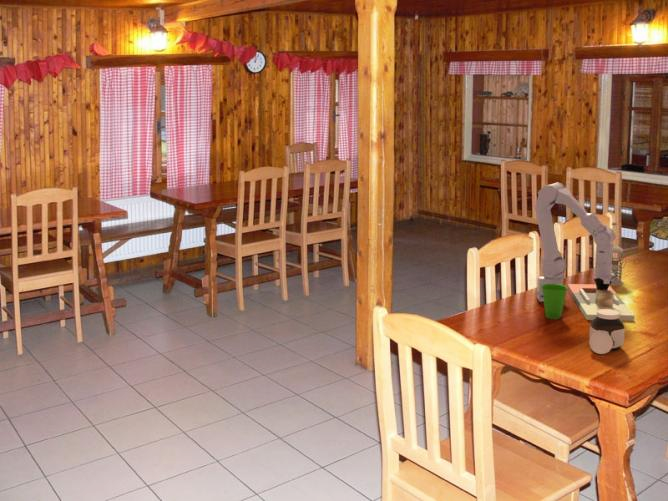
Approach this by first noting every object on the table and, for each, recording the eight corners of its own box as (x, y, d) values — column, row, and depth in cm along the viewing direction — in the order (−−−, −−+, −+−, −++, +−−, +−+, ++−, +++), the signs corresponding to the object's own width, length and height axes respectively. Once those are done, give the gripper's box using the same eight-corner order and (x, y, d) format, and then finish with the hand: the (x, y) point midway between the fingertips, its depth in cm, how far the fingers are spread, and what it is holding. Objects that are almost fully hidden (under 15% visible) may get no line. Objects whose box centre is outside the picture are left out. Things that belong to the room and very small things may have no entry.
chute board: (586, 320, 290) (587, 310, 290) (567, 288, 331) (567, 280, 330) (634, 321, 289) (634, 311, 288) (608, 289, 329) (609, 280, 329)
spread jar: (617, 343, 266) (619, 308, 264) (630, 355, 255) (633, 318, 253) (580, 344, 266) (582, 309, 263) (592, 356, 255) (594, 319, 252)
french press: (593, 281, 343) (596, 221, 337) (614, 277, 347) (618, 218, 342) (610, 286, 334) (613, 225, 329) (632, 283, 339) (636, 222, 333)
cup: (537, 318, 293) (538, 288, 290) (543, 312, 301) (544, 282, 298) (563, 322, 289) (564, 291, 286) (569, 315, 296) (570, 285, 294)
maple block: (598, 307, 299) (599, 293, 298) (595, 303, 304) (596, 289, 303) (612, 307, 298) (613, 293, 297) (609, 303, 303) (610, 289, 302)
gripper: (619, 266, 294) (617, 303, 297) (610, 257, 308) (608, 293, 311) (598, 266, 295) (596, 303, 298) (591, 257, 309) (589, 292, 312)
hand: (601, 298), depth 305 cm, fingers closed
